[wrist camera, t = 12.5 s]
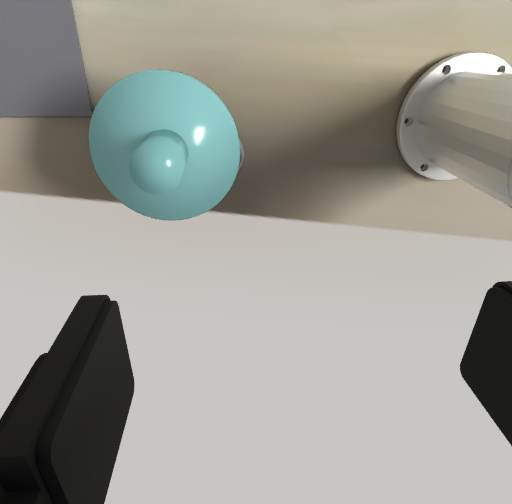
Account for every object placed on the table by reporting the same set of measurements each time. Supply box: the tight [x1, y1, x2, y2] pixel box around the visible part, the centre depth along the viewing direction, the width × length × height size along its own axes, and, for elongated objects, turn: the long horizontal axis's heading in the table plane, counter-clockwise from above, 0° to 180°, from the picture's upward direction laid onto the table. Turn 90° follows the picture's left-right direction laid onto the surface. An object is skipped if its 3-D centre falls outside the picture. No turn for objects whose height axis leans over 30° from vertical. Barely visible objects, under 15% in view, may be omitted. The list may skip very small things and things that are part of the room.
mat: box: [0, 0, 93, 117], centre depth 33 cm, size 12×12×1 cm
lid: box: [89, 69, 240, 220], centre depth 29 cm, size 12×12×6 cm
